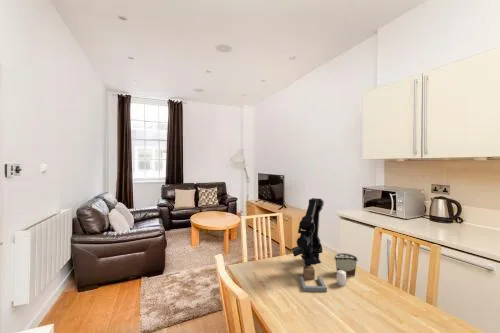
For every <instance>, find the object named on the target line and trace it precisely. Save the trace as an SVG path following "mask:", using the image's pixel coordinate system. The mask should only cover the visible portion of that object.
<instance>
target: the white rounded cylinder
mask: <svg viewBox="0 0 500 333" xmlns="http://www.w3.org/2000/svg"><path fill="white" fill-rule="evenodd" d="M336 284H337V285H338V286H340V287H346V285H347V275H346V272H345V271H342V270H338V271H337V270H336Z"/></svg>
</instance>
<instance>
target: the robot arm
mask: <svg viewBox="0 0 500 333" xmlns="http://www.w3.org/2000/svg"><path fill="white" fill-rule="evenodd" d="M324 202H325V201H324V200H323V199H322V198H318V197H317V198H316V197H312V198H310V199H308V206H307V209H306V213H305V215H304V216H302V217H301V219H300V221H299V224H298V229H297V230H298V231H297V234H300V235H299V237H298V238H297V239H296V245H297V246H294V247H291V252H292V254H293V257H295V258H296V257H297V256H300V257H301V260H302V261H303V264H304V266H313V265H315V266H316V265H317V264H322V261H321V260H320V254H322V253H323V246H322V243H321V239H320V237H319V228H320V227H319V226H320V224H319V223H320V213H321V211H322V210H323V207H324Z"/></svg>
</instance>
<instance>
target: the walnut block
mask: <svg viewBox="0 0 500 333" xmlns="http://www.w3.org/2000/svg"><path fill="white" fill-rule="evenodd" d="M302 270H303V271H302V276H303V279H304V280H315V278H316V277H315V268H314V266H313V265H310V266H305V265H302Z"/></svg>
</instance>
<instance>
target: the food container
mask: <svg viewBox="0 0 500 333" xmlns="http://www.w3.org/2000/svg"><path fill="white" fill-rule="evenodd" d="M333 258H334V259H333V260H334V261H335V266H336V267H335V268H336V272H337V271H338V270H342V271H345V272H346V276H350V277H351V276H353V277H355V276H356V270H357V263H358V262H359V260H358V257H357V256H355V255H353V254H350V253H344V252H342V253H341V252H339V253H336V254H335V255H334V257H333Z"/></svg>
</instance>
